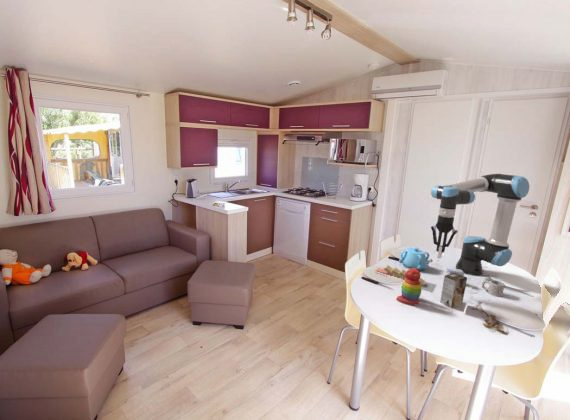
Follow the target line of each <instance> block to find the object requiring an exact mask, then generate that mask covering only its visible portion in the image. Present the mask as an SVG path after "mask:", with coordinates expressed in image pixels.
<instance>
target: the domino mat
mask: <svg viewBox="0 0 570 420" xmlns="http://www.w3.org/2000/svg"><path fill="white" fill-rule="evenodd" d="M436 287H437V284H436V283H432V282H427V281H426V283H425V285H424V286H423V287H422V286H421V291H426V292H429V293H434V290H435V289H436Z"/></svg>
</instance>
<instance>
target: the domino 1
mask: <svg viewBox="0 0 570 420" xmlns="http://www.w3.org/2000/svg"><path fill="white" fill-rule="evenodd" d="M376 271H377V272H380V273H383V274H386V275H390V276H393V275H391V274H390V273H388V272H387V271H385V270H384V268H382V267H378V268H377V269H375V272H376Z"/></svg>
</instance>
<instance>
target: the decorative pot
mask: <svg viewBox="0 0 570 420" xmlns="http://www.w3.org/2000/svg"><path fill="white" fill-rule="evenodd" d="M429 258H430V253H429V252H427V251H424V250H421V249H419V248H418V247H414V246H413V247H410V246H409V247H408V248H407V247H406V249H405V250H402V251H401V252H400V258H399V261H398V263H400V264H402V265H403V266H404V267H405V268H407V269H408V270H409V269H411V268H414V269H415V268H417V269H418V271H422V270H423V271H424V270H425V269H426V268H427V266H428V264H429V263H430V262H429Z"/></svg>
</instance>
